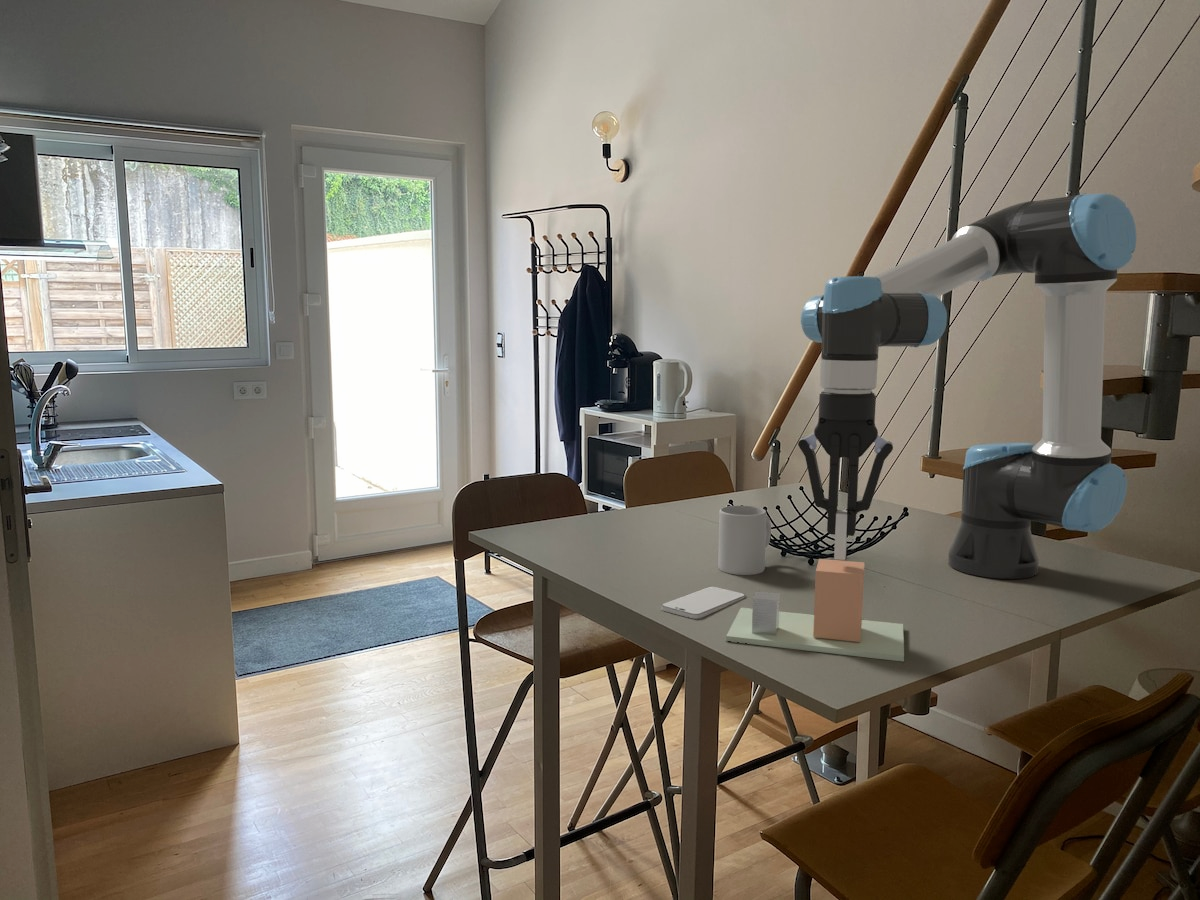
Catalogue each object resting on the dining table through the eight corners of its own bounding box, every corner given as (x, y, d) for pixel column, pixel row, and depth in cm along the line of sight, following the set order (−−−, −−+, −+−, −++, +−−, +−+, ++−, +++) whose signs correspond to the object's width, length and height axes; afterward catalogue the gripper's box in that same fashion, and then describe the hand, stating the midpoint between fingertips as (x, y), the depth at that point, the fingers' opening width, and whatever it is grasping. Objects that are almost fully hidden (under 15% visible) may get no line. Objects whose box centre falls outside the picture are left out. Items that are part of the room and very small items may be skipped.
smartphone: (748, 594, 146) (696, 615, 135) (747, 601, 146) (696, 622, 135) (710, 585, 151) (658, 604, 139) (710, 592, 151) (658, 611, 139)
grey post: (778, 632, 129) (779, 593, 128) (775, 641, 126) (776, 600, 125) (755, 630, 130) (756, 591, 129) (751, 638, 127) (752, 598, 126)
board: (902, 629, 131) (903, 624, 130) (903, 661, 118) (904, 655, 118) (740, 612, 138) (740, 607, 138) (726, 641, 126) (726, 635, 126)
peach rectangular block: (861, 626, 129) (864, 562, 127) (860, 642, 123) (863, 574, 121) (816, 622, 131) (819, 558, 129) (813, 637, 125) (815, 570, 123)
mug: (744, 578, 156) (745, 517, 154) (708, 568, 162) (709, 509, 161) (786, 565, 164) (788, 508, 162) (750, 556, 170) (751, 500, 168)
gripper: (897, 390, 123) (888, 554, 126) (802, 387, 127) (795, 546, 130) (897, 394, 116) (888, 568, 119) (796, 391, 120) (790, 559, 123)
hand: (840, 556), depth 125 cm, fingers closed
